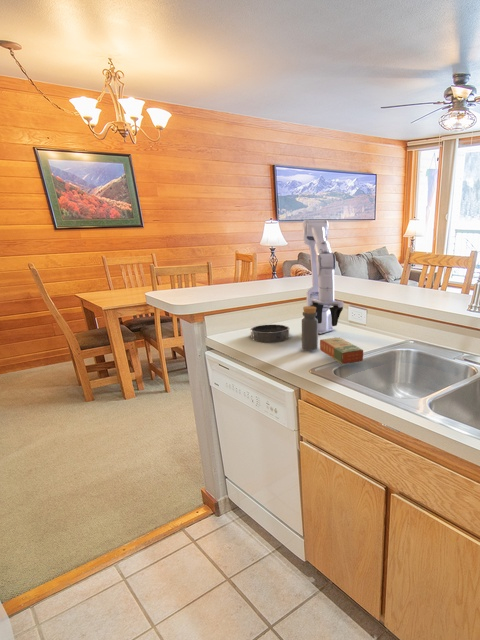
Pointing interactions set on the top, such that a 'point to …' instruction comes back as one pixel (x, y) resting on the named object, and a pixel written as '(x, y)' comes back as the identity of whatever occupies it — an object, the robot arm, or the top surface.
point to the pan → (270, 333)
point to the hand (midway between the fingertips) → (326, 324)
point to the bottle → (309, 328)
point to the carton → (341, 350)
